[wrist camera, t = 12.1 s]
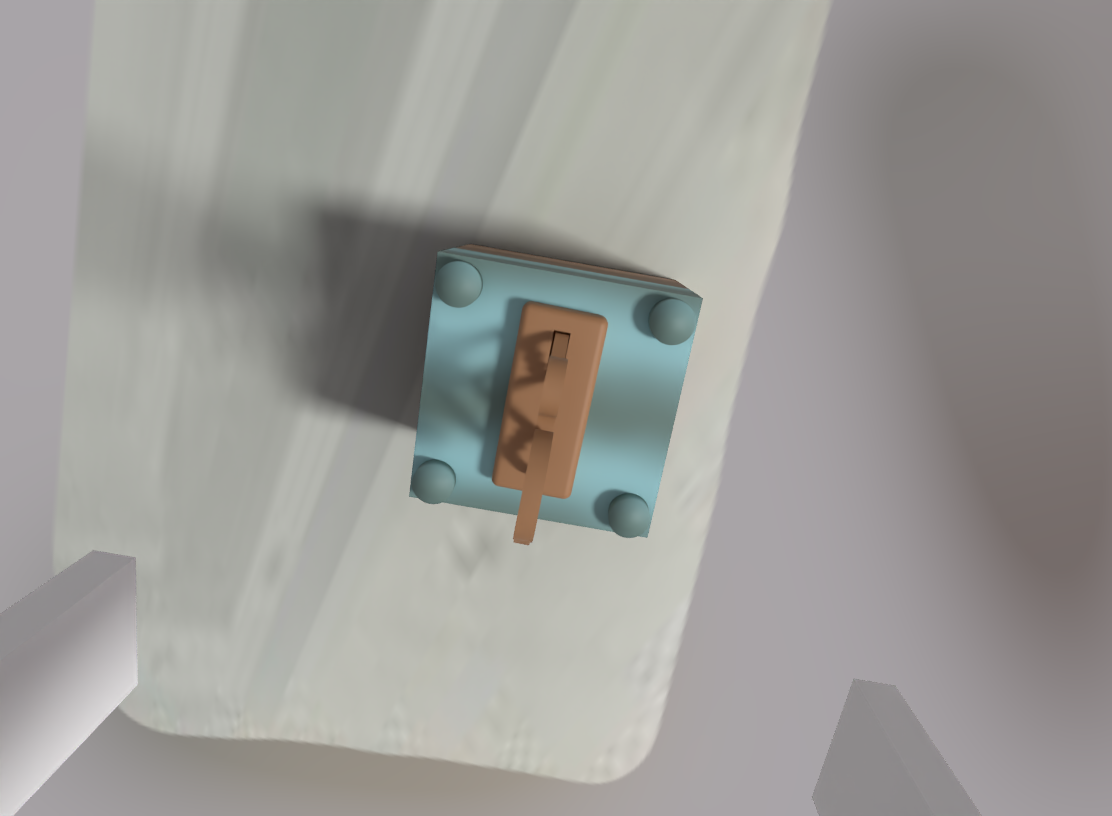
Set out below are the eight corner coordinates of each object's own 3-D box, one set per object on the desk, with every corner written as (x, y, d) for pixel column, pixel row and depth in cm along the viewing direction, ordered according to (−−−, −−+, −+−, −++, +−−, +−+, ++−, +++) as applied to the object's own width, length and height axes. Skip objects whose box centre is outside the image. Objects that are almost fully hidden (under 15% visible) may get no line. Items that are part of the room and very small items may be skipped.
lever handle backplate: (570, 494, 32) (563, 647, 21) (492, 478, 32) (442, 623, 21) (609, 316, 30) (626, 378, 18) (524, 299, 30) (488, 350, 18)
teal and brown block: (470, 243, 38) (433, 252, 29) (675, 280, 38) (705, 300, 29) (445, 438, 41) (404, 503, 32) (633, 470, 41) (648, 545, 32)
